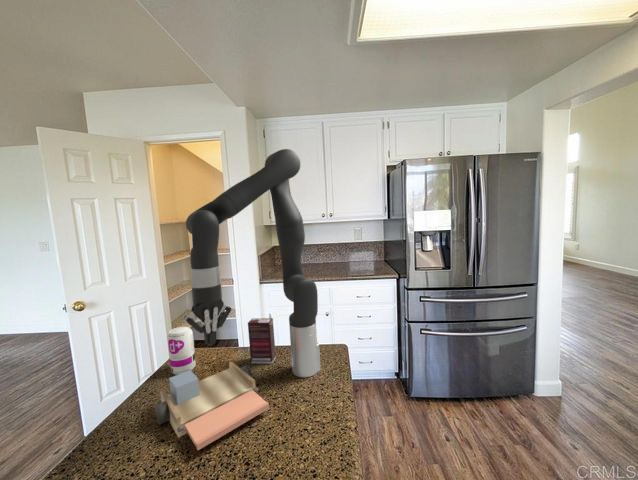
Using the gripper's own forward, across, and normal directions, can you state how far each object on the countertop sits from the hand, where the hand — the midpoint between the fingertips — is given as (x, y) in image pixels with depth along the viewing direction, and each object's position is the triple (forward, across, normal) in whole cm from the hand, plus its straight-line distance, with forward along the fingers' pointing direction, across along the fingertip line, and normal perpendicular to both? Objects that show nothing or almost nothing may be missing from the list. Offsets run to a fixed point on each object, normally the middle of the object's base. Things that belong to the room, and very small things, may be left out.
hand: (210, 344), depth 76 cm
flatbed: (+19, -1, -4) cm, 20 cm away
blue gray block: (+16, +5, -9) cm, 20 cm away
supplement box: (+19, -24, -13) cm, 34 cm away
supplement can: (+20, -2, -31) cm, 37 cm away
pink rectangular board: (+17, 0, +4) cm, 17 cm away
